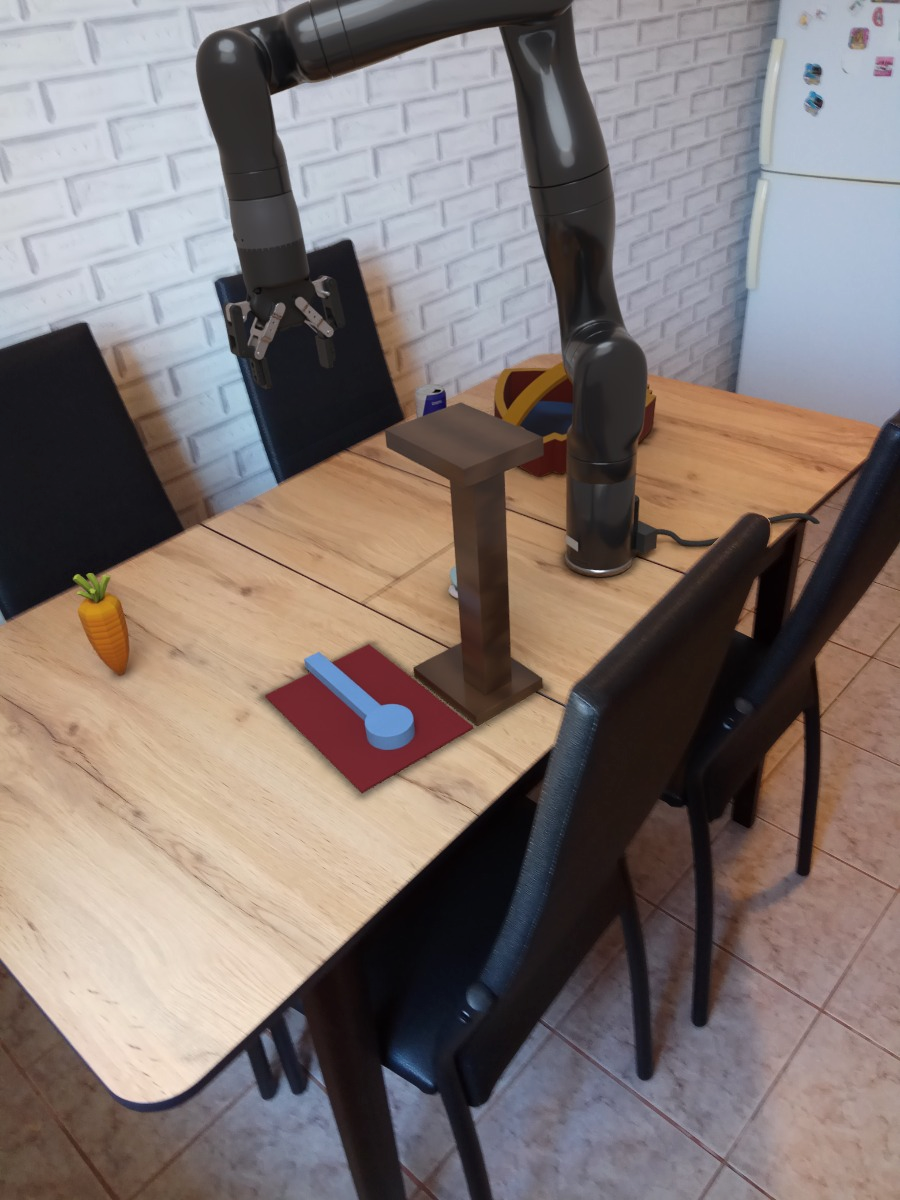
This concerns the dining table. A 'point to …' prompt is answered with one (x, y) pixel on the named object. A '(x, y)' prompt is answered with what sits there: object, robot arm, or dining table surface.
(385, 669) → the cloth
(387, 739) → the blue disc paddle
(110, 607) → the carrot
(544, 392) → the decorative basket
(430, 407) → the energy drink
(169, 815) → the dining table surface
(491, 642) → the stand
